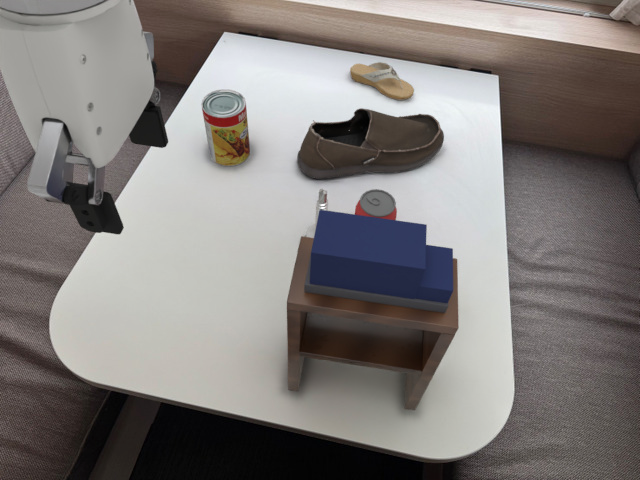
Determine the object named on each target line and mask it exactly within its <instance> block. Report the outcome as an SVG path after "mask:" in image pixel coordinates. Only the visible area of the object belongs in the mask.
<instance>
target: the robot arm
mask: <svg viewBox="0 0 640 480" xmlns="http://www.w3.org/2000/svg"><path fill="white" fill-rule="evenodd" d="M154 39H155V38H154V33H152V32H150V31H144V29H143V26H142V23H141V19H140V16H139V13H138V10H137V7H136V4H135V1H134V0H0V72H1V76H2V78H3V81H4V84H5V87H6V89H7V93H8V95H9V97H10V100H11V102H12V104H13V107H14V109H15V112H16V114H17V117H18V120H19V121H20V124H21V126H22V128H23V130H24V133H25V134H26V137H27V139H28V141H29V144H30V145H31V148H33V150H34V152H35V153H34V157H33V161H32V162H31V163H32V164H31V167H30V171H29V175H28V178H27V182H26V188H27V191H28V192H30V193H31V194H33V195H35V196H37V197H39V198H41V199H43V200H45V201H46V202H48V203H55V204H61V205H67V206H69V207H70V210H71V211H72V213H73V215H74V217H75V219H76V221H77V223H78V226H79V227H80V228H82V229H84V230H86V231H88V232H90V233H96V234H102V233H106V234H113V235H121V234H122V233H123V231H124V224H123V221H122V218H121V216H120V213H119V211H118V208H117V206H116V203H115V200H114V198H113V196H112V194H111V193H110V192H108V191H105V175H106V166H107V165H108V164H109V163H110V162H112V161H113V160H114V159H115V157H116V156H117V155H118V153H119V152H120V150H121V149H122V146H123V145H124V144H125V142H126V140H127V139H128V138H129V140H130V142H131V143H132V144H133V145H140V146H145V147H153V148H159V149H163V148H166V147H167V145H168V144H169V138H168V134H167V129H166V125H165V122H164V117H163V113H162V109H161V106H159V104H160V102H161V92H160V90H159V88H157V87H156V79H157V73H158V65H157V63H156V61H154V60H153V59H155V49H154V48H155V40H154ZM73 145H74V146H75V148H76V149H77V150H78V152H80V153H77V152H73ZM75 165H78V166H79V165H80V166H86V167H88V170H87V184H86V183H85V184H84V183H78V182H74V170H75V169H74V168H75V167H74V166H75Z"/></svg>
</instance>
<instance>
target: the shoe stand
mask: <svg viewBox="0 0 640 480" xmlns="http://www.w3.org/2000/svg"><path fill="white" fill-rule="evenodd" d="M313 240H314V238H310V237H306V236H300V239H299V244H298V249H297V253H296V258H295V262H294V267H293V271H292V276H291V280H290V284H289V290H288V294H287V299H286V344H287V345H286V347H287V348H286V349H287V390H288V391H292V392H299V389H300V385H301V379H302V373H303V368H304V361H305V358H307V359H313V360H319V361H326V362H333V363H338V364H339V363H340V364H344V365H351V366H352V365H353V366H358V367H365V368H369V369H370V368H371V369H375V370H376V369H377V370H383V371H389V372H397V373H401V374H405V385H404V387H405V388H404V404H403V405H404V407H403V408H404V409H405V410H410V411H416V410H417V408H418V405H419V404H420V402H421V400H422V398H423V396H424V394H425V392H426V391H427V389H428V387H429V384H430V383H431V381H432V380H433V377H434V376H435V373H436V372H437V370H438V368H439V367H440V364H441V363H442V360H443V359H444V357H445V355H446V353H447V351H448V349H449V347H450V345H451V343H452V341H453V340H454V338H455V336H456V334H457V332H458V330H459V281H458V280H459V278H458V277H459V276H458V274H459V273H458V270H459V269H458V259H457V258H455V257H453V293H452V295H451V297H450V299H449V301H448V308H447V310H446V312H445V313H440V312H434V311H427V310H420V309H414V308H407V307H400V306H394V305H387V304H381V303H374V302H367V301H361V300H354V299H347V298H341V297H334V296H327V295H321V294H314V293H307V292H304V285H305V279H306V274H307V269H308V264H309V259H310V254H311V249H312V244H313Z"/></svg>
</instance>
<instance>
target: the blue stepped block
mask: <svg viewBox="0 0 640 480" xmlns="http://www.w3.org/2000/svg"><path fill="white" fill-rule="evenodd" d="M427 225H428V224H425V223H418V222H411V221H403V220H398V219H396V220H390V219H383V218H376V217H369V216H362V215H355V213H347V212H341V211H340V212H339V211H332V210H328V211H326V210H319V215H318V220H317V225H316V230H315V235H314V240H313V244H312V249H311V254H310V259H309V264H308V269H307V274H306V279H305V285H304V292H307V293H314V294H321V295H327V296H334V297H341V298H347V299H354V300H361V301H367V302H374V303H381V304H387V305H394V306H400V307H407V308H414V309H420V310H427V311H434V312H440V313H445V312H446V310H447V308H448V301H449V299H450V297H451V295H452V293H453V258H454V249H453V248H452V247H445V246H436V245H431V244H427V233H428V232H427V228H428V227H427Z"/></svg>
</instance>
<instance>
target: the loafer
mask: <svg viewBox="0 0 640 480" xmlns="http://www.w3.org/2000/svg"><path fill="white" fill-rule="evenodd" d="M312 122H313V123H310V125H309V127H308V130H307V132H306V134H305V136H304V138H303V141H302V143H301V145H300V149H299V150H298V152H297V157H296V163H297V165H298V167H299V169H300V171H301V172H302V173H303V174H305V175H306V176H307V177H310V178H312V179H317V180H318V179H319V180H322V179H324V180H325V179H333V178H339V177H347V176H353V175H357V174H363V173H402V172H407V171H411V170H414V169H416V168H418V167H421V166H423V165H424V164H426V163H428V162H429V161H430V160H431V159H433V158H434V157H435V156H436V155H437V154H438V153H439V151H440V150H441V148H442V147H443V144H444V141H445V134H444V131H443V129H442V128H441V124H440V122H439V121H438V120H437V118H435V116H433V115H431V114H428V113H427V114H424V113H418V114H410V115H404V116H401V115H399V116H394V115H390V114H387V113H382V112H379V111H376V110H373V109H369V108H357V109H356V110H354V112H353V116H352V117H351V118H350V119H348V120H342V121H331V122H330V121H329V122H326V121H325V122H323V121H322V122H321V121H320V122H319V121H317V122H316V121H315V120H312Z"/></svg>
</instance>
